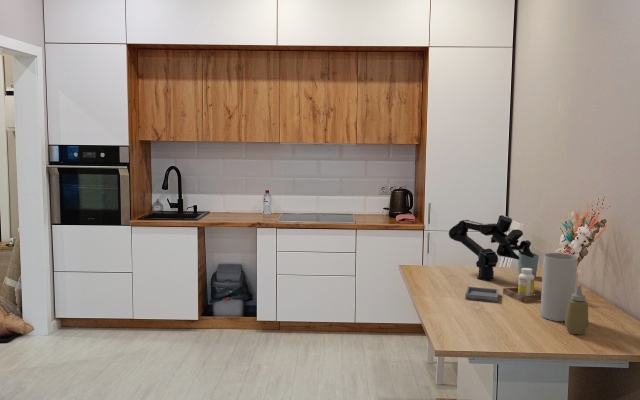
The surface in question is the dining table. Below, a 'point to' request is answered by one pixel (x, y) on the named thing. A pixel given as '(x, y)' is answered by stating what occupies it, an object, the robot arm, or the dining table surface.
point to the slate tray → (481, 294)
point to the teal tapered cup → (528, 263)
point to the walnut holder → (513, 293)
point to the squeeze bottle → (577, 313)
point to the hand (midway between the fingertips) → (526, 257)
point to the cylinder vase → (557, 285)
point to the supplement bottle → (526, 282)
